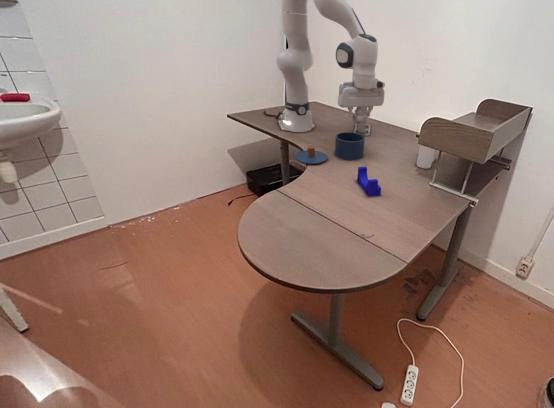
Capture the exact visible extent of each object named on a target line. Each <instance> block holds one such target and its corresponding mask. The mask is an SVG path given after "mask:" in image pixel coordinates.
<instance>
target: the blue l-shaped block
mask: <svg viewBox="0 0 554 408" xmlns="http://www.w3.org/2000/svg"><path fill="white" fill-rule="evenodd" d="M356 179H357V180H356V182H357V183H358V185H359V186H360V187H361V188H362V190H363V191H364V193H365V194H366V196H367V197H368V198H369V197H379V196H381V193H382V187H381V186H380V184H379V180H378V179H377V178H374V179H373V178H371V179H369V177H368V167H367V166H358V167H357V178H356Z"/></svg>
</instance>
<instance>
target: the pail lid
mask: <svg viewBox="0 0 554 408" xmlns="http://www.w3.org/2000/svg"><path fill="white" fill-rule="evenodd" d="M294 159H295V160H296V162H298V163H301V164H305V165H317V164H322V163H325V162H326V161H328V155H327V154H326V153H325V152H323V151H320V150H316V147H315V146H312V145H310V146H307V149H306V150H302V151H298V152H297V153H295V155H294Z"/></svg>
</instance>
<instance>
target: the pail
mask: <svg viewBox="0 0 554 408" xmlns="http://www.w3.org/2000/svg"><path fill="white" fill-rule="evenodd" d="M361 134H362V133H360V134H358V132H356V133H354V131H352V132H351V131H344V132H338V133H336V134H335V137H334V155H335V157H337V158H338V159H339V160H344V161H358V160H361V159H363V157H364V152H365V143H366V142H365V141H366V138H365V136H363V135H361Z"/></svg>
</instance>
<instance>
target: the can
mask: <svg viewBox="0 0 554 408" xmlns="http://www.w3.org/2000/svg"><path fill="white" fill-rule="evenodd" d="M434 151H435V150H434V149H431V148H428V147H424V146H421V145H420V144H419V149H418V154H417V159H416V167H418V168H419V169H422V170H429V169H430V168H431V167H432V165H433V162H432V160H433V155H434Z"/></svg>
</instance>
